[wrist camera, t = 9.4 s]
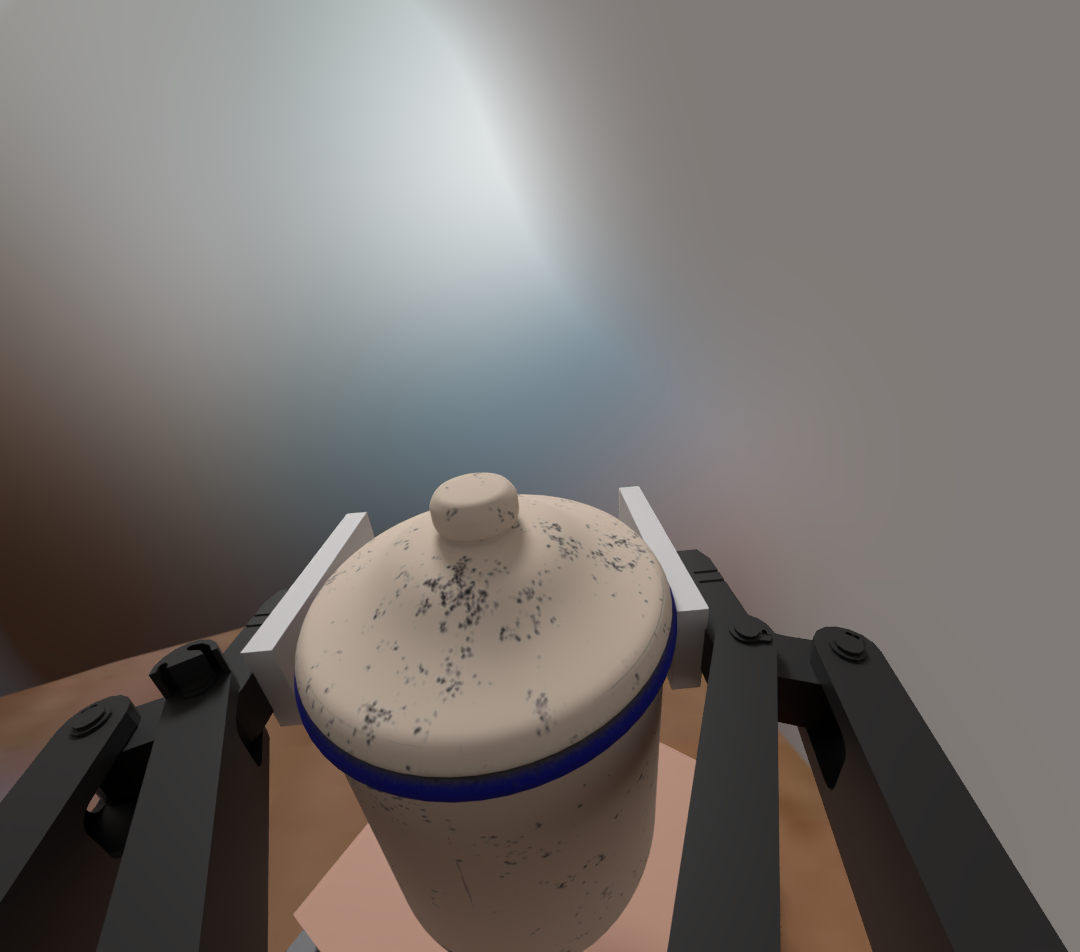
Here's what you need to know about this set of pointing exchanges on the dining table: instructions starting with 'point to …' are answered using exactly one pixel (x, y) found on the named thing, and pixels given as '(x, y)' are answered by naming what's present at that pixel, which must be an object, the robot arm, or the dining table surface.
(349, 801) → the dining table surface
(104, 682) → the dining table surface
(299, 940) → the brick plinth
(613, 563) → the teacup with lid
